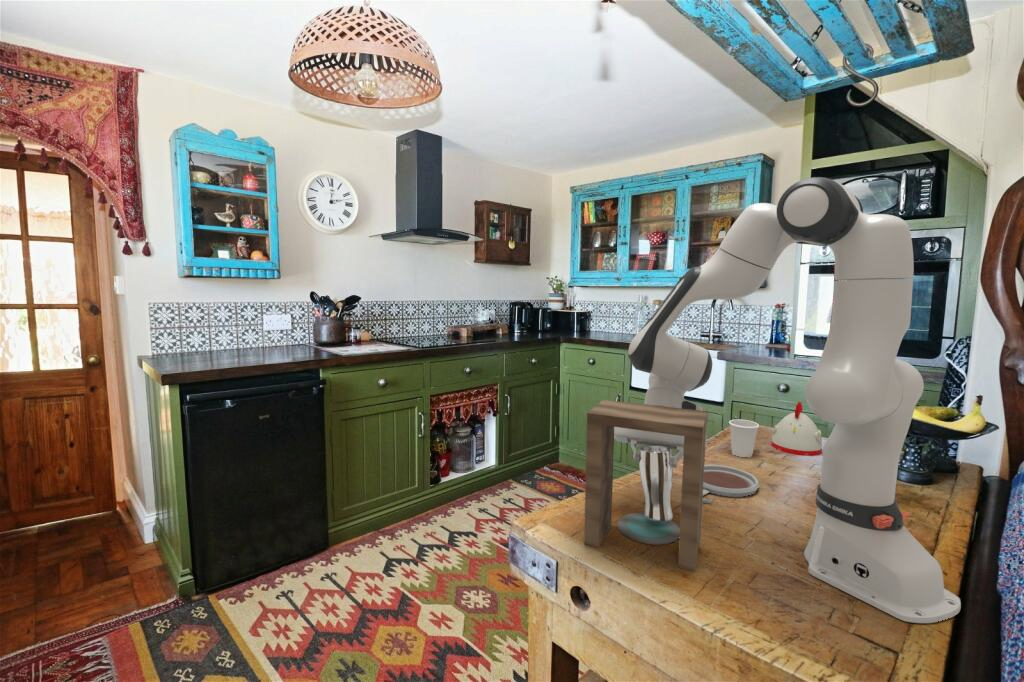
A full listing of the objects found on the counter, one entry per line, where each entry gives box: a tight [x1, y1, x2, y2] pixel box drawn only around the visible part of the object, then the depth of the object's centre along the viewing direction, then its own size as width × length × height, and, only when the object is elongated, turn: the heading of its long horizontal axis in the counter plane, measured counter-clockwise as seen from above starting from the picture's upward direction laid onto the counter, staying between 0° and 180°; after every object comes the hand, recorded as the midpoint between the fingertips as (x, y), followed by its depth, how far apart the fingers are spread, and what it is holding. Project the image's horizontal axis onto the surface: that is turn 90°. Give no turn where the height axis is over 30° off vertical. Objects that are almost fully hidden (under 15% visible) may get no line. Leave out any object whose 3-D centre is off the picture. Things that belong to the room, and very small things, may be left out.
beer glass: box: [639, 445, 674, 522], centre depth 105 cm, size 7×7×15 cm
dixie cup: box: [728, 418, 760, 458], centre depth 147 cm, size 8×8×10 cm
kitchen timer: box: [771, 401, 823, 457], centre depth 153 cm, size 14×14×15 cm
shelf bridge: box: [583, 399, 709, 572], centre depth 99 cm, size 18×21×27 cm
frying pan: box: [680, 464, 760, 505], centre depth 122 cm, size 17×3×28 cm
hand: (654, 463), depth 104 cm, fingers closed on beer glass, 6 cm apart
